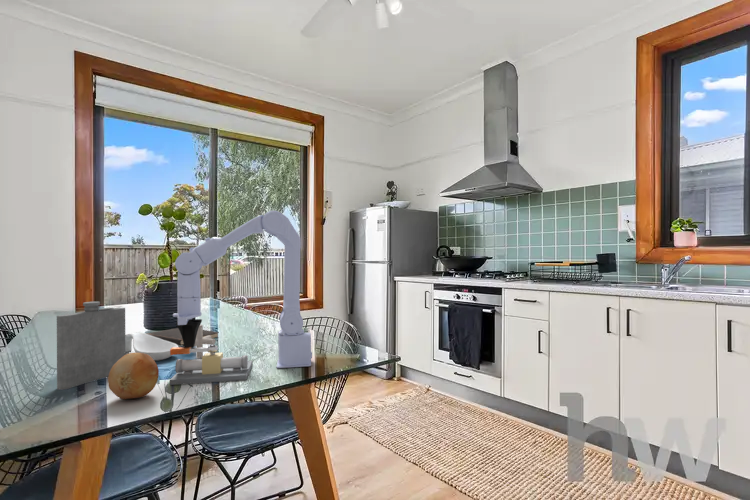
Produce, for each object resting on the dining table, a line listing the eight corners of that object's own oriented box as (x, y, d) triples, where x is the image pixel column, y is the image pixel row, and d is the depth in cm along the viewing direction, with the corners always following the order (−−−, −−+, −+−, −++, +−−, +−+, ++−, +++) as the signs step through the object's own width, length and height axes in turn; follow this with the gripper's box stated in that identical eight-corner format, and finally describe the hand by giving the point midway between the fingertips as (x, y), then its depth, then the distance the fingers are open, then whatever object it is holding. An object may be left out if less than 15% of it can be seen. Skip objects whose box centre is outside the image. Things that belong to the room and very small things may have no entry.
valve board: (252, 364, 115) (252, 342, 115) (246, 379, 101) (246, 354, 101) (185, 368, 112) (185, 346, 112) (169, 384, 98) (169, 359, 98)
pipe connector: (204, 362, 118) (203, 328, 118) (174, 361, 120) (174, 327, 120) (223, 354, 128) (223, 322, 128) (195, 352, 130) (195, 322, 130)
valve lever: (218, 350, 106) (218, 343, 106) (216, 352, 104) (216, 345, 104) (172, 352, 104) (172, 346, 104) (169, 355, 102) (169, 348, 102)
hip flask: (61, 390, 95) (61, 306, 95) (52, 388, 97) (51, 305, 97) (128, 372, 109) (127, 298, 109) (119, 370, 111) (118, 298, 111)
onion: (103, 409, 83) (103, 361, 83) (113, 394, 92) (112, 350, 92) (156, 402, 87) (156, 356, 87) (160, 388, 96) (160, 346, 96)
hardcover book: (183, 332, 167) (183, 326, 167) (219, 338, 155) (219, 332, 155) (144, 339, 154) (144, 333, 154) (180, 346, 141) (180, 340, 141)
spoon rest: (186, 356, 126) (186, 334, 126) (150, 366, 115) (150, 341, 115) (140, 349, 137) (139, 328, 137) (103, 357, 126) (103, 334, 126)
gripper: (180, 294, 115) (181, 342, 115) (164, 300, 101) (164, 354, 101) (207, 294, 116) (207, 340, 116) (194, 299, 102) (194, 353, 102)
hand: (189, 347), depth 109 cm, fingers closed
